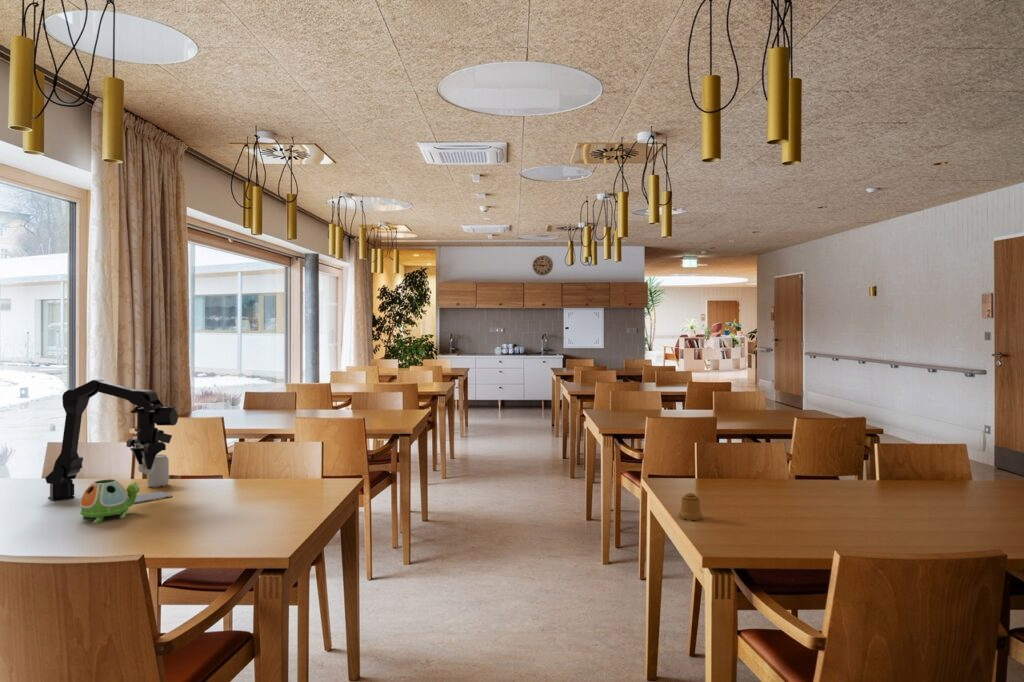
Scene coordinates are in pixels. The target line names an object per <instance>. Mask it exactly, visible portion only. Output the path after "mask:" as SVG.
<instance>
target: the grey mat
mask: <svg viewBox="0 0 1024 682" xmlns="http://www.w3.org/2000/svg"><path fill="white" fill-rule="evenodd" d="M169 496H172V497H173V495H172V494H168V493H166V492H164V491H154V492H148V493H143V494H137V496H136V500H135V502H134V503H133V505H135V503H137V504H141V503H140V502H142V503H146V502H145V501H148V502H151V501H150V500H153V501H155V500H154V499H159V498H164V497H169ZM164 499H165V498H164ZM159 500H160V499H159Z"/></svg>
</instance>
